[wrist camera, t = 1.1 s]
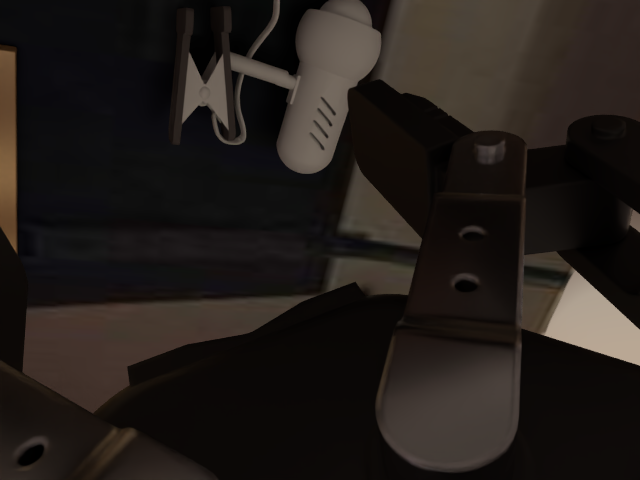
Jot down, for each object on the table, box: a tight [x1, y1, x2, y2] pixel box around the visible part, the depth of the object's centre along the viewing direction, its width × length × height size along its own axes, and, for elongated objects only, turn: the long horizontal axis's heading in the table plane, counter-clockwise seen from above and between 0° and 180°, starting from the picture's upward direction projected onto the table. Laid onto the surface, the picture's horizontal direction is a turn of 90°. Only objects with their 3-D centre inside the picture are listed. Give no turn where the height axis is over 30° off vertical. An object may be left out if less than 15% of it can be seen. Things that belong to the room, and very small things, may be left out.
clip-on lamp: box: [169, 0, 381, 174], centre depth 33 cm, size 12×6×18 cm
